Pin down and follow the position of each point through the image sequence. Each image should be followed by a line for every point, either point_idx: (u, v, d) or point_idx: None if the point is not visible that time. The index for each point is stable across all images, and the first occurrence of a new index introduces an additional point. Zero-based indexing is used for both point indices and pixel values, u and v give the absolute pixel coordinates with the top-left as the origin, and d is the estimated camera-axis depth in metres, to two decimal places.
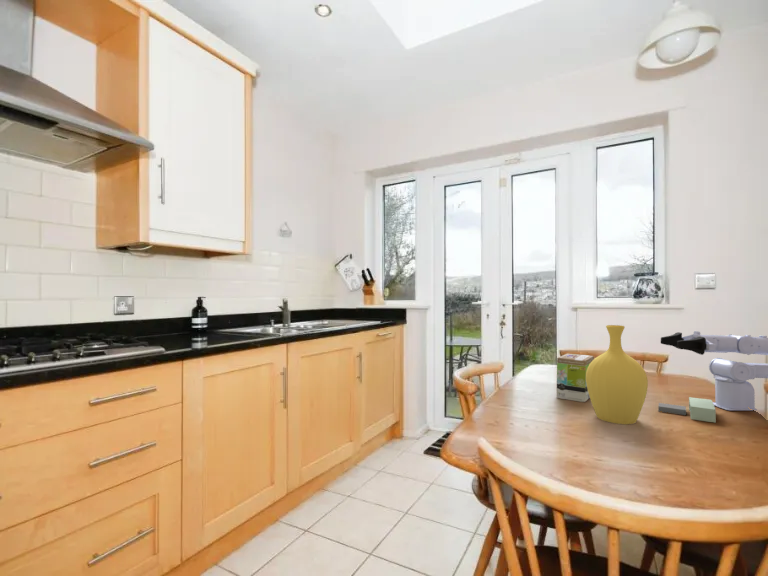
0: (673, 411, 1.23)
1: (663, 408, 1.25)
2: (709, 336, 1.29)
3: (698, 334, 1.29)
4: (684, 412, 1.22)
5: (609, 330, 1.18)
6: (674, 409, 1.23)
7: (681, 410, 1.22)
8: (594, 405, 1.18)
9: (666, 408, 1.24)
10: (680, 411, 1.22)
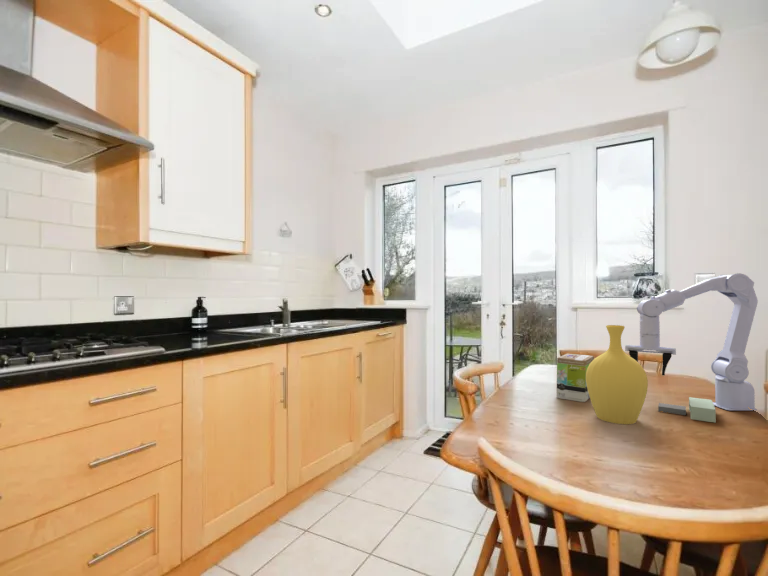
0: (673, 411, 1.23)
1: (663, 408, 1.25)
2: (653, 339, 1.33)
3: (653, 349, 1.33)
4: (684, 412, 1.22)
5: (609, 330, 1.18)
6: (674, 409, 1.23)
7: (681, 410, 1.22)
8: (594, 405, 1.18)
9: (666, 408, 1.24)
10: (680, 411, 1.22)
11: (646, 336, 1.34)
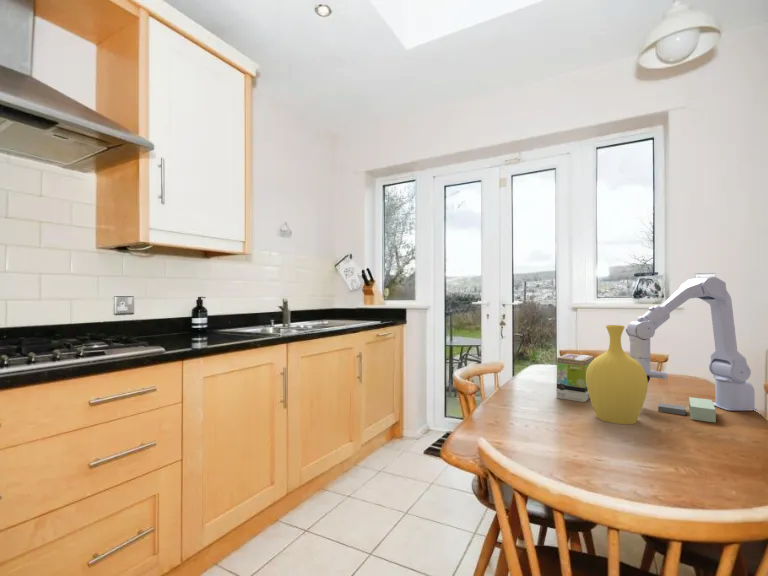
0: (673, 411, 1.23)
1: (663, 408, 1.25)
2: (644, 363, 1.28)
3: None
4: (684, 412, 1.22)
5: (609, 330, 1.18)
6: (674, 409, 1.23)
7: (681, 410, 1.22)
8: (594, 405, 1.18)
9: (666, 408, 1.24)
10: (680, 411, 1.22)
11: (636, 359, 1.29)
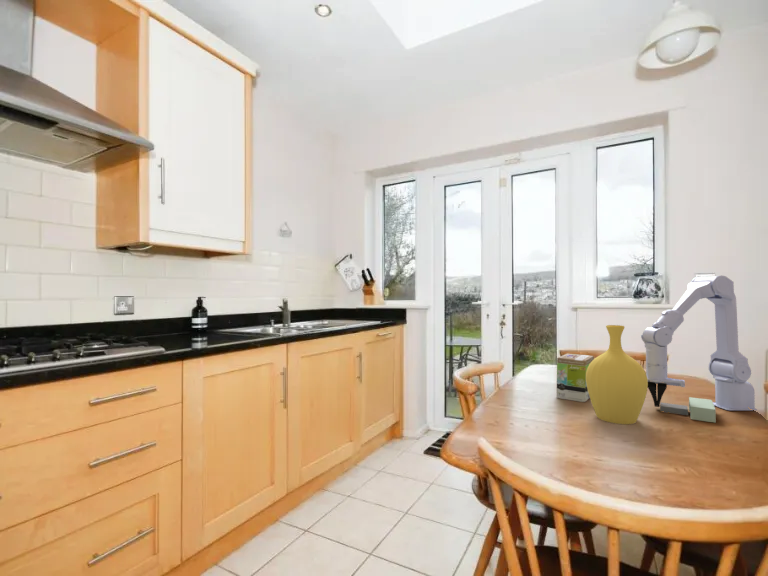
0: (675, 410, 1.23)
1: (665, 408, 1.25)
2: (660, 370, 1.25)
3: (660, 381, 1.25)
4: (686, 411, 1.22)
5: (609, 330, 1.18)
6: (676, 408, 1.23)
7: (683, 409, 1.22)
8: (594, 405, 1.18)
9: (668, 408, 1.24)
10: (682, 410, 1.22)
11: (653, 366, 1.26)
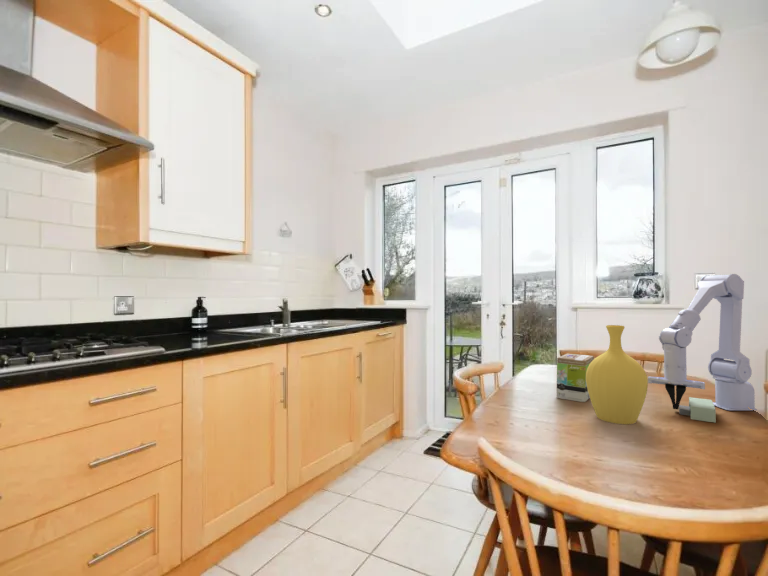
0: None
1: (684, 410, 1.22)
2: (680, 372, 1.22)
3: (679, 383, 1.22)
4: None
5: (609, 330, 1.18)
6: None
7: None
8: (594, 405, 1.18)
9: (687, 410, 1.21)
10: None
11: (672, 368, 1.23)
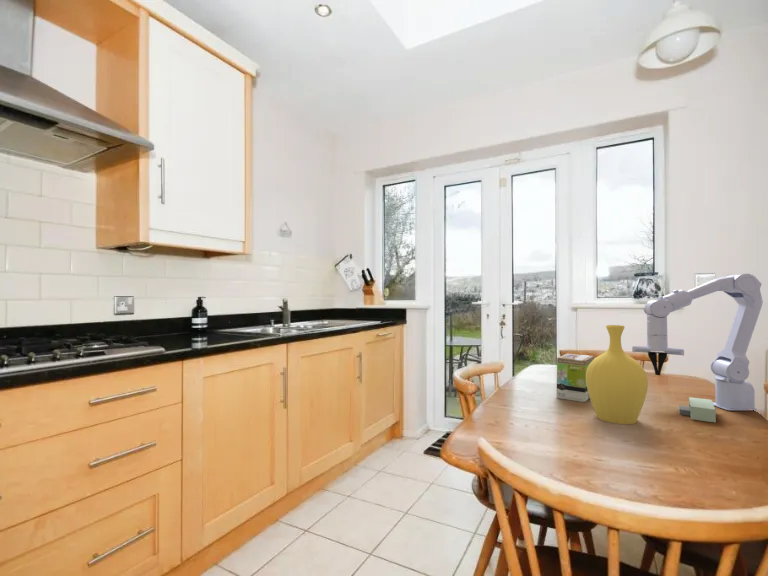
0: None
1: (684, 411, 1.22)
2: (661, 340, 1.32)
3: (661, 350, 1.31)
4: None
5: (609, 330, 1.18)
6: None
7: None
8: (594, 405, 1.18)
9: (687, 411, 1.21)
10: None
11: (654, 337, 1.33)
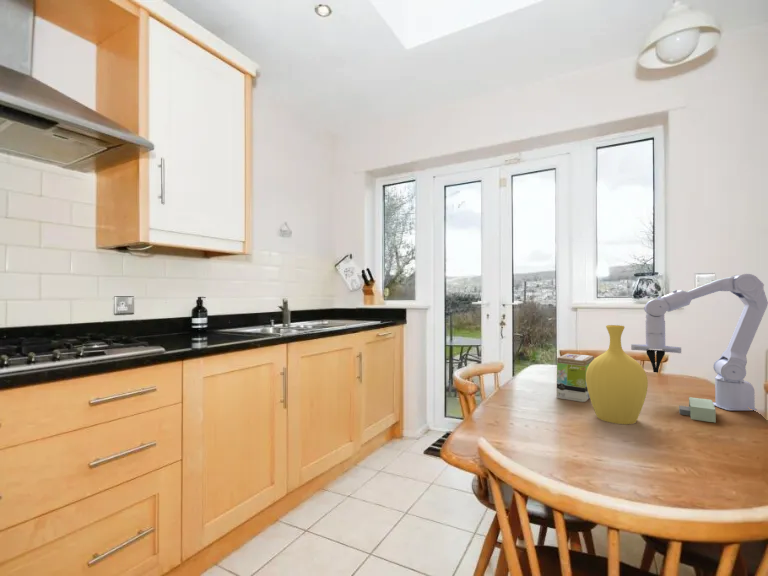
0: None
1: (684, 411, 1.22)
2: (659, 338, 1.36)
3: (658, 348, 1.36)
4: None
5: (609, 330, 1.18)
6: None
7: None
8: (594, 405, 1.18)
9: (687, 411, 1.21)
10: None
11: (652, 335, 1.37)
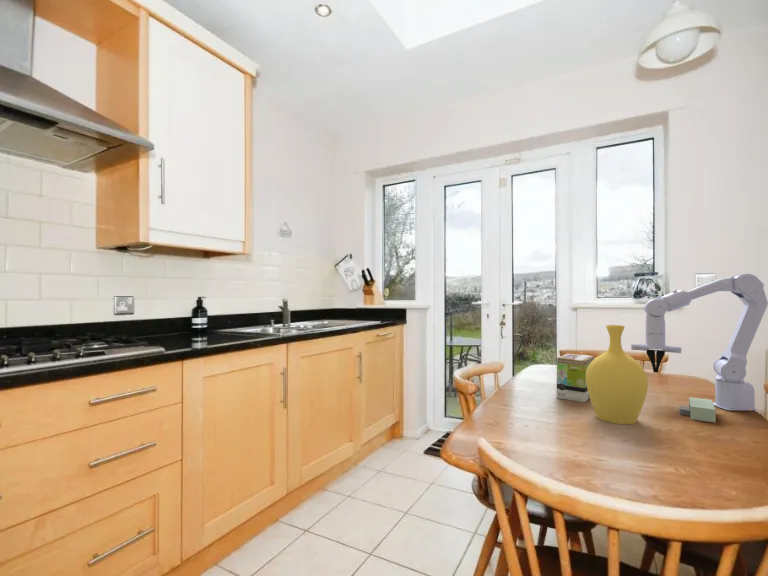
0: None
1: (684, 411, 1.22)
2: (659, 338, 1.36)
3: (658, 348, 1.36)
4: None
5: (609, 330, 1.18)
6: None
7: None
8: (594, 405, 1.18)
9: (687, 411, 1.21)
10: None
11: (652, 335, 1.37)
